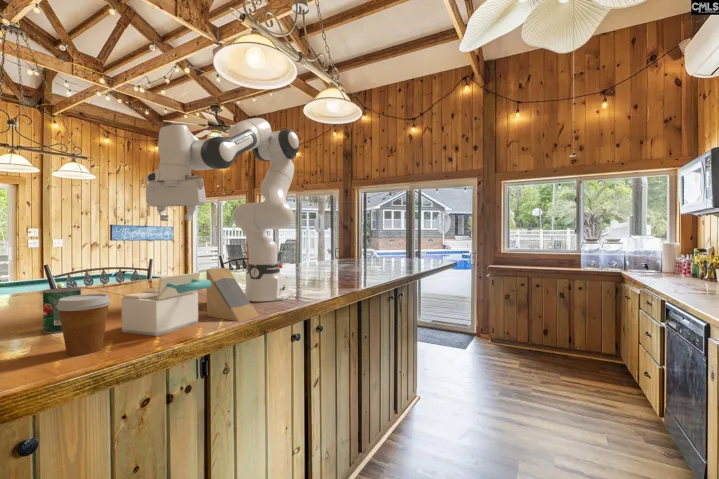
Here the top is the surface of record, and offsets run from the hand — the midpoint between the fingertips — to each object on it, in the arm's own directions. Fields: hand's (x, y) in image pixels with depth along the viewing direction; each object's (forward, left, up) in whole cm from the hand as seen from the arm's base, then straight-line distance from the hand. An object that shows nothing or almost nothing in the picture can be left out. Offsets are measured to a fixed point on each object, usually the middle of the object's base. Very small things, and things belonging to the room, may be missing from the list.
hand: (176, 220), depth 105 cm
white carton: (+10, +5, -30) cm, 32 cm away
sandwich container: (-7, +15, -31) cm, 35 cm away
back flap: (+10, +2, -21) cm, 24 cm away
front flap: (+10, +11, -18) cm, 24 cm away
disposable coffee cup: (+30, +5, -31) cm, 43 cm away
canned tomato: (+20, -19, -31) cm, 41 cm away
